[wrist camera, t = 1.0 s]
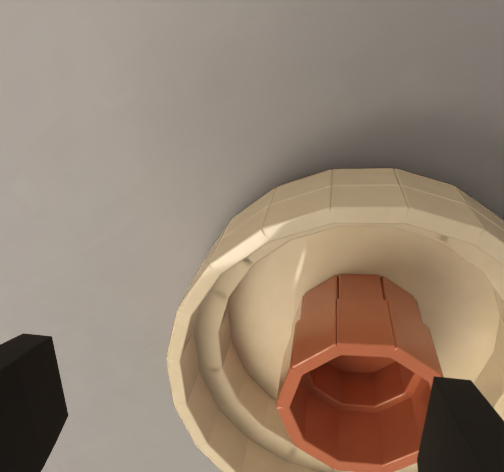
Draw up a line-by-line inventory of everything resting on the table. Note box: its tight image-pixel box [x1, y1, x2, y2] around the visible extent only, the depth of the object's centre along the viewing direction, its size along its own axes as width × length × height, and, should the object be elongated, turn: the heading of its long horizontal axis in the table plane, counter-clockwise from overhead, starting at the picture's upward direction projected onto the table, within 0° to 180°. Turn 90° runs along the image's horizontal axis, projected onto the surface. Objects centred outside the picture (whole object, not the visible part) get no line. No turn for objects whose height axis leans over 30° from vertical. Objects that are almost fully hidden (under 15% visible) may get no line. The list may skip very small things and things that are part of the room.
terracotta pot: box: [276, 274, 444, 472], centre depth 17 cm, size 5×5×4 cm
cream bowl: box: [166, 168, 504, 472], centre depth 18 cm, size 13×13×4 cm
